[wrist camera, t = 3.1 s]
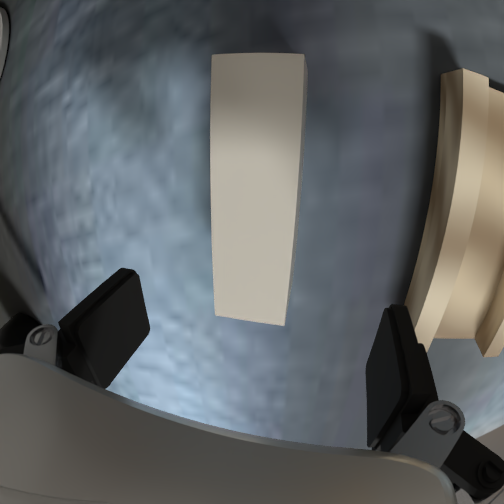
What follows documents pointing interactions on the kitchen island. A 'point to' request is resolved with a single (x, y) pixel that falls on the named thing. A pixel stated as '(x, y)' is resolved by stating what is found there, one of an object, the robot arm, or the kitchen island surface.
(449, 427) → the robot arm
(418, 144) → the kitchen island surface
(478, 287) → the rack
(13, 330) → the ink bottle
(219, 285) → the strip
